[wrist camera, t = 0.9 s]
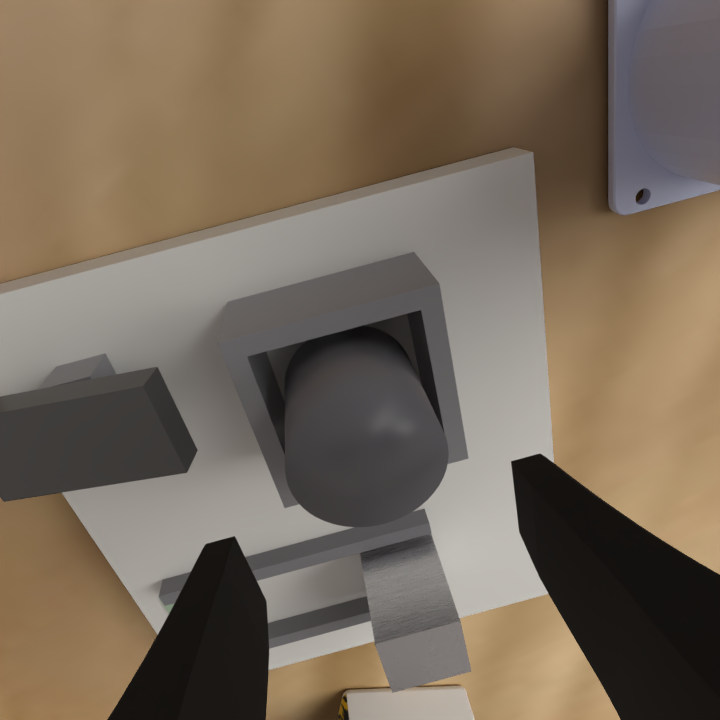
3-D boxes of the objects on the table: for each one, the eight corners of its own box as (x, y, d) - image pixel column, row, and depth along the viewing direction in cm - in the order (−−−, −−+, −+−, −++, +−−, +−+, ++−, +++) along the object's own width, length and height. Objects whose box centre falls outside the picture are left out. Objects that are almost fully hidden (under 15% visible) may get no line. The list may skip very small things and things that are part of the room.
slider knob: (431, 533, 21) (460, 620, 18) (442, 581, 23) (471, 671, 19) (359, 552, 21) (375, 644, 18) (375, 599, 23) (392, 693, 19)
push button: (399, 309, 15) (434, 375, 12) (423, 418, 17) (458, 503, 14) (267, 344, 15) (262, 421, 12) (305, 450, 17) (310, 544, 14)
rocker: (157, 366, 14) (142, 385, 14) (198, 450, 16) (187, 472, 15) (-31, 402, 15) (-56, 422, 14) (23, 478, 17) (3, 501, 16)
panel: (513, 147, 17) (585, 165, 13) (548, 564, 26) (595, 649, 22) (-34, 293, 17) (-134, 357, 13) (199, 659, 26) (184, 761, 22)
